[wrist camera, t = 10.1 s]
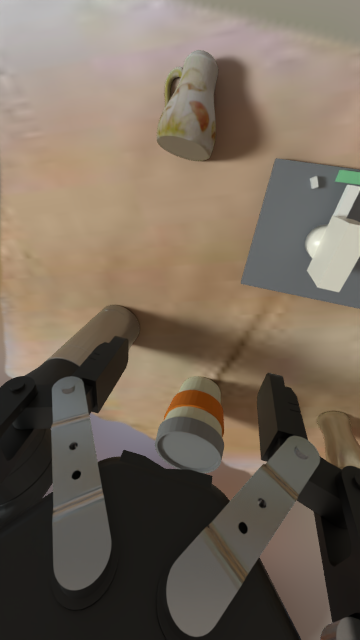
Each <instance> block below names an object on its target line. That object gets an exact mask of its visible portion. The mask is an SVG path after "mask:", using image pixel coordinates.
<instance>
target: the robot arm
mask: <svg viewBox="0 0 360 640" xmlns="http://www.w3.org/2000/svg"><path fill="white" fill-rule="evenodd" d="M139 331H140V327H139V323H138V320H137V319H136V317H135V316H134V315H133V314H132V312H130V311H129V310H128V309H126V308H124V307H121V306H118V305H110V306H107V307H105V308H104V309H103V310H102V311H100V312H99V313H98V314H97V315H96V316H95V317H94V318H93V319H91V320H90V321H89V322H88V323H87V324H86V325H85V326H84V327H83V328H82V329H80V330H79V331H78V332H77V333H76V334H75V335H74V336H73V337H72V338H71V339H69V340H68V341H67V342H66V343H65V344H64V345H63V346H62V347H61V348H60V349H58V350H57V351H56V352H55V353H54V354H53V355H52V356H51V357H50V358H49V359H48V360H46V361H45V362H44V363H43V364H42V365H41V366H40V367H38V368H37V369H35V370H33V371H32V372H30V373H28V374H27V375H25V376H20V377H16V378H13V379H11V380H9V381H7V382H6V383H5V384H4V385H3V386H1V387H0V640H301V638H300V636H299V634H298V632H297V630H296V628H295V626H294V624H293V622H292V620H291V619H290V617H289V615H288V612H287V611H286V609H285V607H284V605H283V603H282V601H281V599H280V597H279V595H278V593H277V591H276V589H275V587H274V585H273V583H272V581H271V579H270V577H269V575H268V573H267V571H266V569H265V567H264V565H263V563H262V561H261V559H260V558H259V557H260V555H261V553H262V552H263V550H264V549H265V547H266V546H267V544H268V543H269V541H270V540H271V538H272V537H273V535H274V534H275V532H276V530H277V529H278V527H279V526H280V525H281V523H282V521H283V520H284V518H285V517H286V515H287V514H288V512H289V511H290V509H291V508H292V506H293V505H294V503H295V502H296V500H297V501H299V502H300V503H302V504H303V505H305V506H306V507H308V508H309V509H311V510H313V511H314V516H315V522H316V528H317V534H318V539H319V546H320V552H321V557H322V563H323V570H324V576H325V582H326V587H327V593H328V599H329V605H330V611H331V617H332V623H331V624H328V625H327V626H326V627H324V629H323V631H322V633H321V637H320V640H360V468H357V467H355V466H346V467H344V468H343V469H340V468H338V467H337V466H335V465H333V464H331V463H329V462H328V461H326V460H324V459H323V458H321V457H320V456H319V453H318V451H317V449H316V448H315V447H314V445H313V444H312V443H310V442H309V441H308V438H307V435H306V431H305V427H304V423H303V419H302V415H301V414H300V412H301V411H300V407H299V404H298V400H297V396H296V395H295V393H294V392H293V390H292V389H291V388H289V387H285V385H284V380H283V377H282V376H280V375H276V374H272V373H267V374H266V376H265V379H264V381H263V383H262V385H261V388H260V390H259V393H258V397H257V410H258V424H259V437H260V451H261V460H263V461H267V463H266V464H263V465H262V466H261V467H260V468H259V469H258V470H257V471H256V473H255V474H254V475H253V476H252V477H251V478H250V479H249V481H248V482H247V483H246V484H245V485H244V486H243V487H242V488H241V490H240V491H239V492H238V493H237V494H236V495H235V496H234V497H233V499H232V500H231V501H230V500H229V499H228V498H227V497H226V496H225V494H224V493H223V492H221V490H219V489H218V488H217V487H216V486H214V485H213V484H212V476H210V475H207V474H204V473H200V472H197V471H193V470H190V469H165V468H163V467H161V466H160V465H158V464H157V463H155V462H153V461H152V460H150V459H149V458H147V457H145V456H143V455H140V454H136V453H133V452H129V451H126V450H123V453H122V455H121V457H111V458H107V459H104V460H102V461H99V462H97V456H96V451H95V444H94V439H93V433H92V427H91V421H90V416H89V415H90V413H91V411H92V412H96V413H99V411H100V410H101V408H102V406H103V405H104V403H105V401H106V400H107V398H108V396H109V395H110V393H111V392H112V390H113V388H114V387H115V385H116V383H117V382H118V380H119V378H120V377H121V375H122V373H123V372H124V370H125V368H126V366H127V363H128V350H129V349H130V347H131V346H132V344H133V342H134V341H135V339H136V338H137V336H138V335H139ZM52 483H53V492H52V493H50V494H48V495H47V496H45V497H44V498H43V496H44V495H45V494H46V492H47V491H48V489H49V488H50V486H51V485H52Z"/></svg>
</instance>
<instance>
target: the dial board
mask: <svg viewBox="0 0 360 640" xmlns="http://www.w3.org/2000/svg"><path fill="white" fill-rule="evenodd" d="M347 185H353V186H359V187H360V170H358V169H350V168H343V167H335V166H328V165H321V164H313V163H306V162H299V161H291V160H284V159H277V158H276V159H275V162H274V165H273V169H272V173H271V176H270V180H269V183H268V187H267V190H266V194H265V198H264V201H263V205H262V208H261V212H260V215H259V219H258V223H257V226H256V230H255V233H254V237H253V240H252V244H251V247H250V251H249V255H248V258H247V262H246V265H245V269H244V272H243V276H242V280H241V284H245V285H250V286H254V287H259V288H264V289H269V290H273V291H278V292H283V293H288V294H292V295H297V296H302V297H307V298H311V299H316V300H321V301H326V302H330V303H335V304H340V305H345V306H349V307H354V308H359V309H360V257H359V259H358V260H357V262H356V264H355V266H354V267H353V269H352V271H351V273H350V274H349V276H348V278H347V280H346V281H345V283H344V285H343V287H342V288H341V290H340V292H335V291H331V290H326V289H322V288H318V287H317V286H316V284H315V283H314V281H313V280H312V278H311V276H310V275H309V273H308V271H307V269H308V267H309V265H310V263H311V260H312V257H311V256H310V255H309V254H308V252H307V251H306V249H305V240H306V237H307V235H308V234H309V233H310V232H311V231H312V230H313V229H314V228H316V227H318V226H320V225H324V224H329V222H330V219H331V217H332V215H333V214H334V212H335V210H336V207H337V205H338V203H339V201H340V199H341V197H342V195H343V192H344V190H345V188H346V186H347ZM347 218H348V219H353V220H356V221H358V222H360V191H359V193H358V195H357V197H356V199H355V201H354V203H353V205H352V208H351V210H350V212H349V214H348V216H347Z"/></svg>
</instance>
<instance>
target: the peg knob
mask: <svg viewBox="0 0 360 640" xmlns="http://www.w3.org/2000/svg"><path fill="white" fill-rule="evenodd" d="M359 191H360V187H359V186H353V185H347V186H346V188H345V190H344V192H343V195H342V197H341V199H340V201H339V203H338V205H337V207H336V210H335V212H334V214H333V215H332V217H331V219H330V222H329V224H324V225H320V226H318V227H316V228H314V229H313V230H312V231H311V232H310V233H309V234H308V235H307V237H306V240H305V249H306V251H307V252H308V254H309V255H310V256H311V257H312V260H311V263H310V265H309V267H308V269H307V271H308V273H309V275H310V276H311V278H312V280H313V281H314V283H315V284H316V286H317V287H318V288H322V289H326V290H331V291H335V292H340V290H341V288H342V287H343V285H344V283H345V281H346V280H347V278H348V276H349V274H350V273H351V271H352V269H353V267H354V266H355V264H356V262H357V260H358V259H359V257H360V222H358V221H356V220H353V219H348V218H347V216H348V214H349V212H350V210H351V208H352V205H353V203H354V201H355V199H356V197H357V195H358V193H359Z"/></svg>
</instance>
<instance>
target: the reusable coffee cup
mask: <svg viewBox="0 0 360 640" xmlns="http://www.w3.org/2000/svg"><path fill="white" fill-rule="evenodd" d="M223 434H224V419H223V408H222V406H221V392H220V389H219V387H218V386H217V384H216V383H214V382H213V381H212V380H210V379H208V378H205V377H199V376H198V377H191V378H188V379H187V380H185V382H184V383H183V385H182V387H181V389H180V391H179V393H178V394H176V396H175V397H174V398H173V400H172V402H171V404H170V406H169V408H168V410H167V412H166V414H165V416H164V421H163V422H162V423H161V424H160V426H159V429H158V433H157V438H156V442H155V447H156V451H157V453H158V454H159V456H160V457H161V458H162V459H163V460H164V461H165V462H167V463H168V464H170V465H171V466H173V467H175V468H177V469H190V470H193V471H197V472H200V473H209V472H212V471H214V470H216V469H217V468H218V467H219V465H220V463H221V459H222V454H223V450H224V442H223V439H222V437H223Z"/></svg>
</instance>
